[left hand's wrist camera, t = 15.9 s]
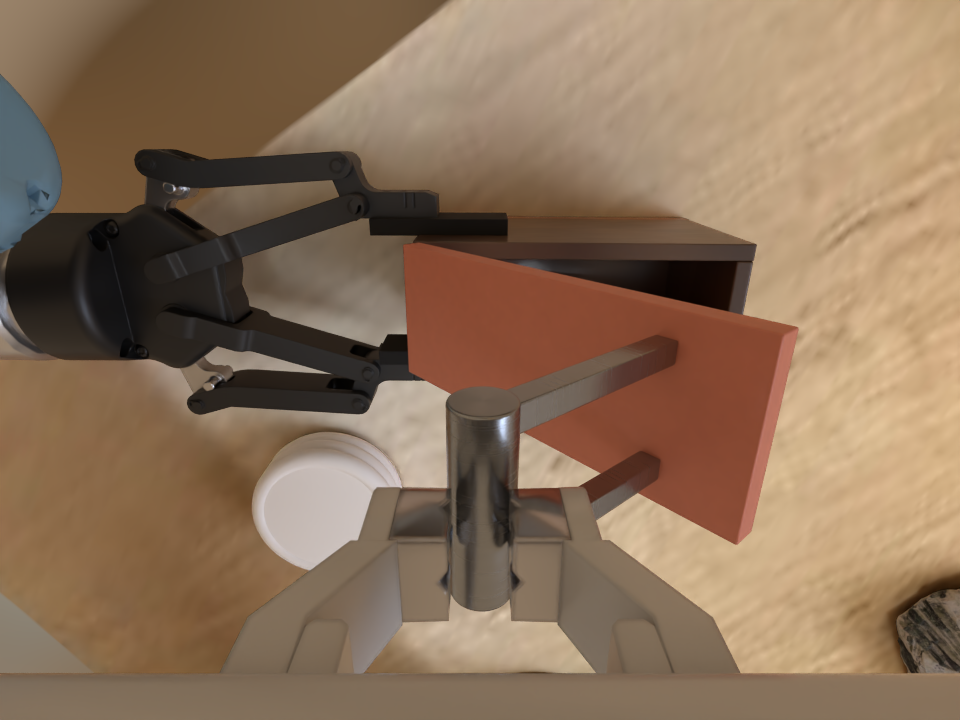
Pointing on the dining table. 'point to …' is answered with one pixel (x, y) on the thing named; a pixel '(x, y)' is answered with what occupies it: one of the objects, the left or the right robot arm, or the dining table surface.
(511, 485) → the lid
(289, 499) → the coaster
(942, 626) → the rock
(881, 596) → the dining table surface
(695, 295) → the chest
